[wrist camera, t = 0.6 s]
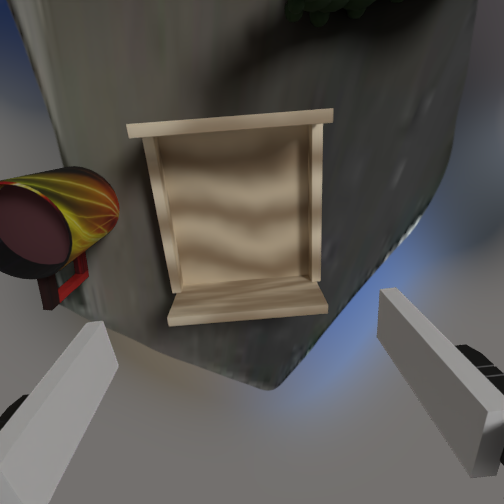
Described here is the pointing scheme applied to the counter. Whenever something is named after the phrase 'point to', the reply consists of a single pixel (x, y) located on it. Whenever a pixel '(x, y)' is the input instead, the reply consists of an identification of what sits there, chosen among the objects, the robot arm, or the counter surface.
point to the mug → (53, 226)
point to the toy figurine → (326, 9)
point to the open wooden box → (239, 213)
